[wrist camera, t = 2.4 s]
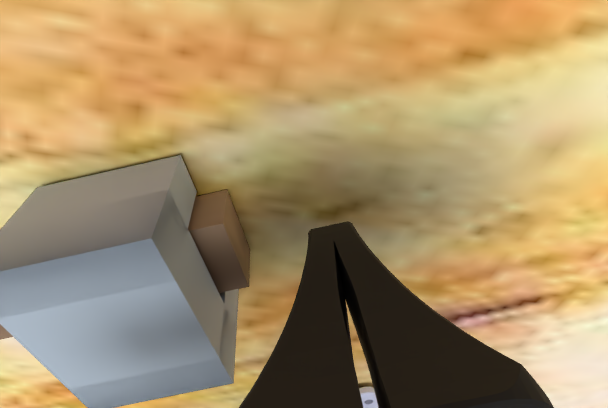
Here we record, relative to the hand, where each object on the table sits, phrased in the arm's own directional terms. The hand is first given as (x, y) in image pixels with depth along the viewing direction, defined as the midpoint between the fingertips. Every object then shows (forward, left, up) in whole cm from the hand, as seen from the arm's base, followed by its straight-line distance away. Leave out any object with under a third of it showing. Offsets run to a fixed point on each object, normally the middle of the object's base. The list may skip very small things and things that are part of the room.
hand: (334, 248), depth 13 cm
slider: (0, +7, -3) cm, 7 cm away
